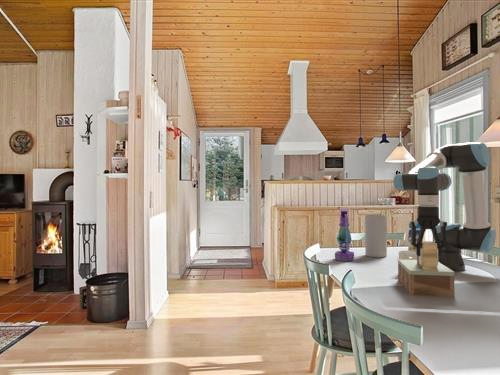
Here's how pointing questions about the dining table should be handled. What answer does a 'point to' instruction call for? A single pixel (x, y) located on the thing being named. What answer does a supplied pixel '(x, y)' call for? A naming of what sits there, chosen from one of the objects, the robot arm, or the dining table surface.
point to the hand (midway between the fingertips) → (428, 264)
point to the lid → (415, 269)
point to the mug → (407, 255)
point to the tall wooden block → (429, 255)
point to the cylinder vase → (376, 235)
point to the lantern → (344, 239)
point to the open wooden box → (426, 284)
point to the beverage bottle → (410, 247)
